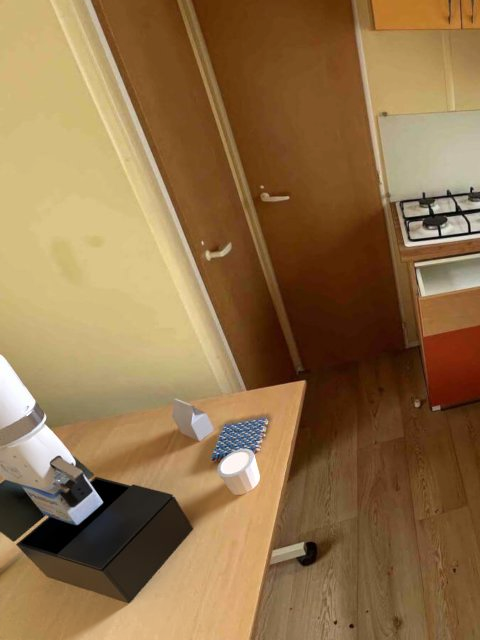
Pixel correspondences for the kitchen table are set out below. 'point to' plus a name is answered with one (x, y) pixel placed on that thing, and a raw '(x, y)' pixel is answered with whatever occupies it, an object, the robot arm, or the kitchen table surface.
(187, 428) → the white gable carton
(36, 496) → the medicine box
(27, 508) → the flap
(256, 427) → the woven mat
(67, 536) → the black flap box
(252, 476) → the white short cylinder
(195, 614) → the kitchen table surface
